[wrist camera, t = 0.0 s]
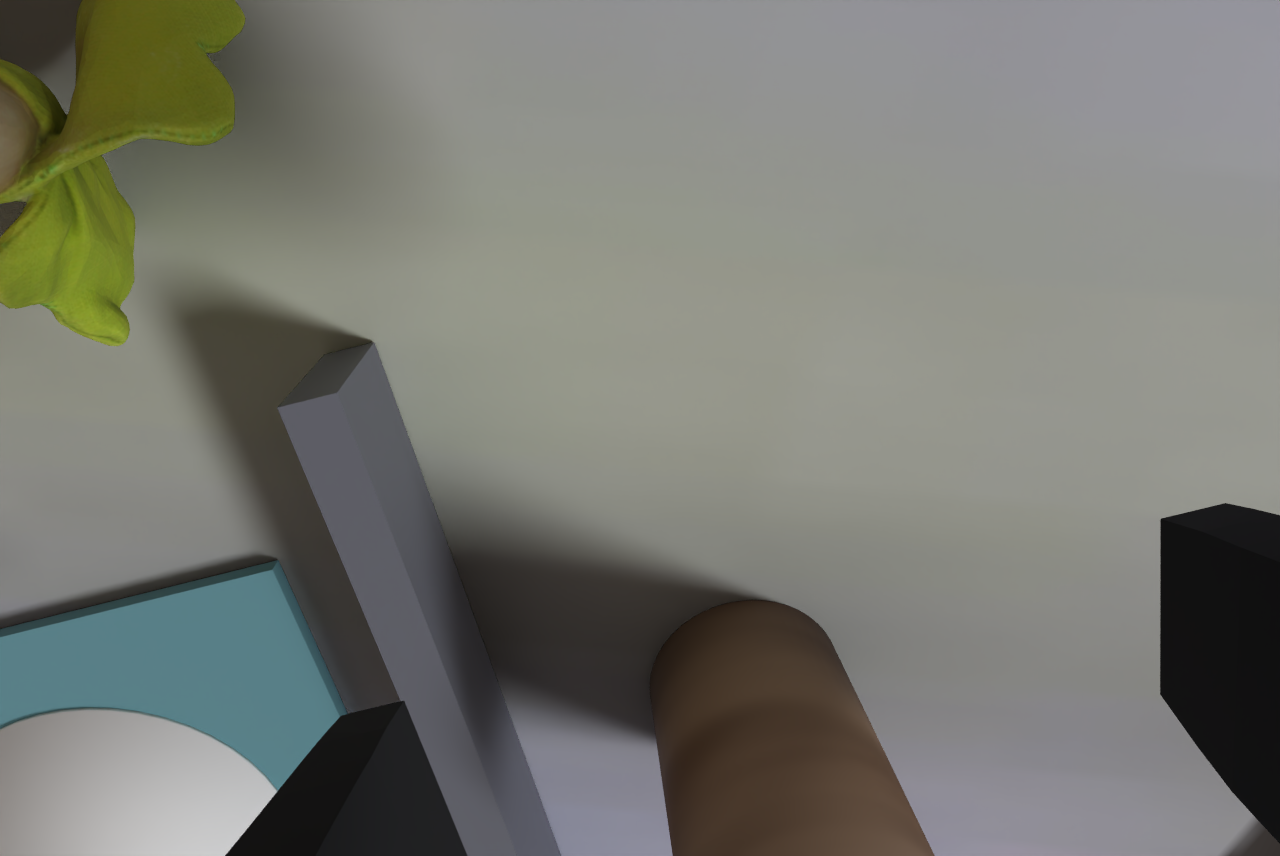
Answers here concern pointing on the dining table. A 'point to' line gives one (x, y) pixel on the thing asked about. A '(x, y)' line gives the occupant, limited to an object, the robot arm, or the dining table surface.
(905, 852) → the walnut cylinder
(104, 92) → the bird rattle
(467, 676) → the low wall
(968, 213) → the dining table surface
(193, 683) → the mat
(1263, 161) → the dining table surface
